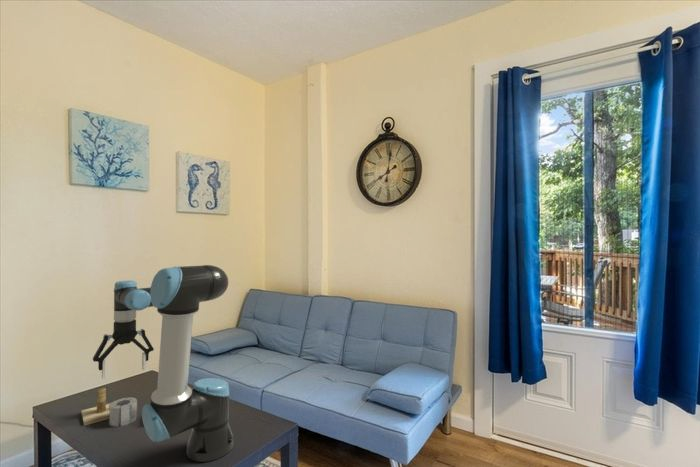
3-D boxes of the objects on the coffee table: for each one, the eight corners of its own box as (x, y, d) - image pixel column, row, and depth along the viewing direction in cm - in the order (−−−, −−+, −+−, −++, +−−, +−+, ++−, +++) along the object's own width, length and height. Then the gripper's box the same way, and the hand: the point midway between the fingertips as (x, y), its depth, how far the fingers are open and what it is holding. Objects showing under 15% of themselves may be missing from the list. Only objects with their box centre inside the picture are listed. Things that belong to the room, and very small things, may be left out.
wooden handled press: (120, 415, 142) (121, 390, 142) (84, 425, 134) (84, 399, 134) (116, 404, 151) (116, 380, 151) (81, 413, 143) (81, 388, 143)
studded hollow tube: (138, 421, 138) (138, 403, 138) (111, 429, 132) (111, 410, 132) (134, 412, 145) (134, 395, 145) (107, 419, 139) (108, 402, 139)
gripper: (157, 313, 150) (156, 363, 150) (84, 322, 133) (83, 378, 133) (162, 317, 144) (161, 368, 144) (86, 327, 128) (85, 385, 128)
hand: (124, 373), depth 139 cm, fingers open, 13 cm apart
